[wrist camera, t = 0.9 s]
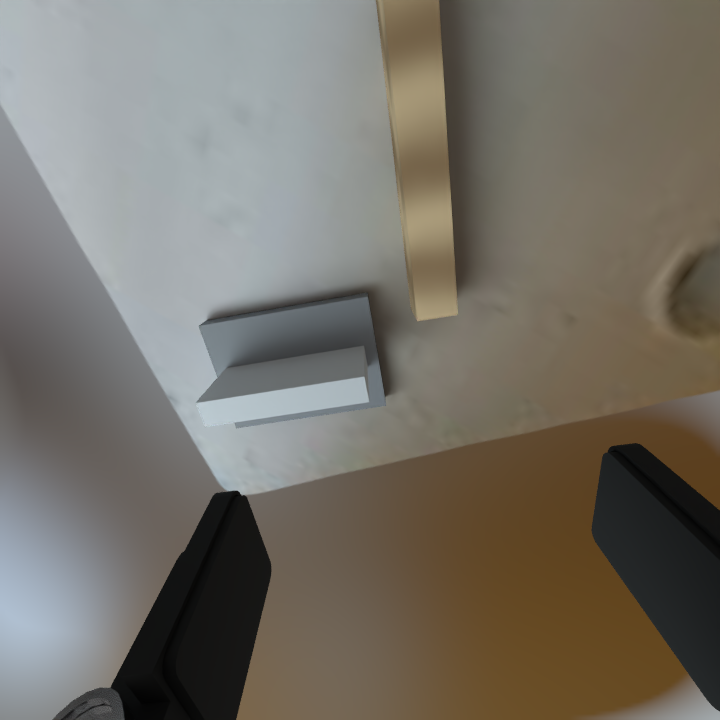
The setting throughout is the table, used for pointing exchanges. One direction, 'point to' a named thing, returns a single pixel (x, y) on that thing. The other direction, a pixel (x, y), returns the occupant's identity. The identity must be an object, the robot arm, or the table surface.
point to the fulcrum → (292, 363)
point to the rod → (420, 150)
